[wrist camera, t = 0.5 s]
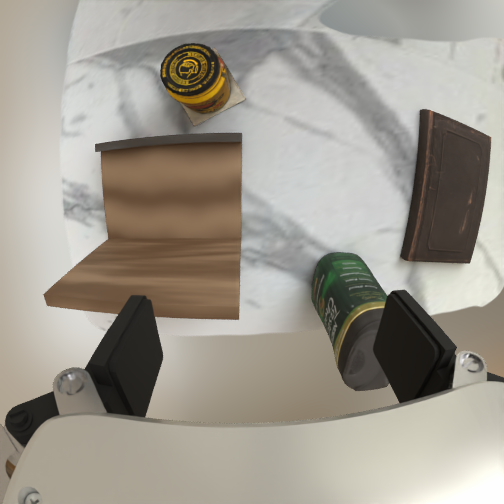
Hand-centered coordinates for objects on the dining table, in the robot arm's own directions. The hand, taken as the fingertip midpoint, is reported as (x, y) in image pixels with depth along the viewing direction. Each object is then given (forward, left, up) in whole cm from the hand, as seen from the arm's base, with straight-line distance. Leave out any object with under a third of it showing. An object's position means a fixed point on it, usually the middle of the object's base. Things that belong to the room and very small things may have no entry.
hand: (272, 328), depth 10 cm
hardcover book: (-3, +32, -28) cm, 42 cm away
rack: (-1, -10, -27) cm, 29 cm away
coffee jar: (+12, +13, -27) cm, 32 cm away
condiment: (-15, -6, -27) cm, 32 cm away
